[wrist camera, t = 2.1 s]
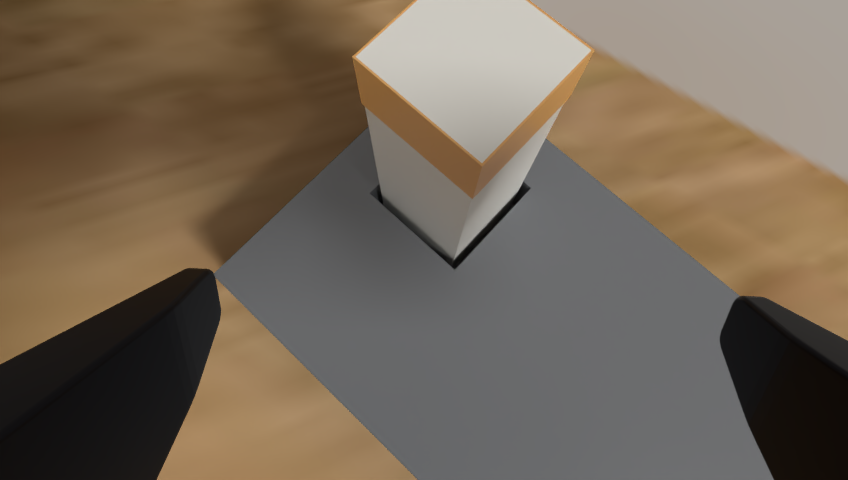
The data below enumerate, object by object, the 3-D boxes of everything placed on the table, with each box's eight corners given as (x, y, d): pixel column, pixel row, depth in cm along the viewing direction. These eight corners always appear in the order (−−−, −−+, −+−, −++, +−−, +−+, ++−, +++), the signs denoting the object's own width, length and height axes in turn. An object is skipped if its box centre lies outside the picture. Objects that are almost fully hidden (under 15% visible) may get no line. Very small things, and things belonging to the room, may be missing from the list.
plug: (510, 209, 22) (594, 50, 12) (450, 274, 22) (482, 166, 11) (444, 152, 23) (466, -48, 12) (383, 213, 22) (352, 56, 12)
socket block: (823, 412, 21) (889, 417, 18) (636, 683, 18) (677, 738, 16) (440, 94, 24) (443, 55, 21) (239, 289, 22) (213, 274, 19)
